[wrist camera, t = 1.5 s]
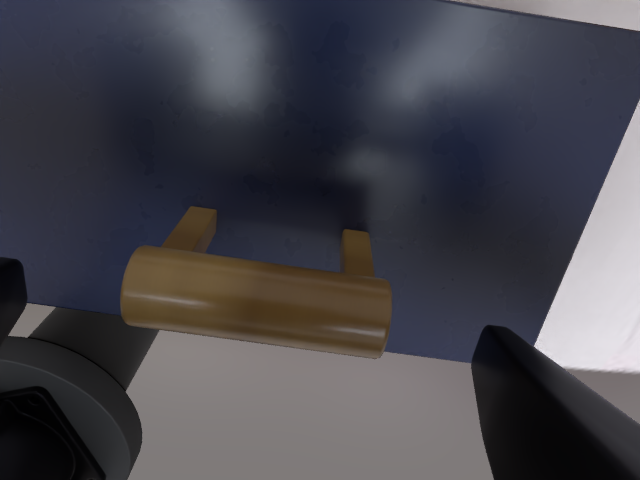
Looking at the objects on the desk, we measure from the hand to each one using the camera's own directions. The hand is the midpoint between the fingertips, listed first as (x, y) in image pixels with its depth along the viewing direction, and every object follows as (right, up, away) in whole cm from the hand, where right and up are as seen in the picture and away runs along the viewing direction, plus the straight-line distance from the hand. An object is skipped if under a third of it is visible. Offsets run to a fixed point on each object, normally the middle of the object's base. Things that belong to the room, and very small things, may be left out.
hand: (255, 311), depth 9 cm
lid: (0, +3, +3) cm, 5 cm away
